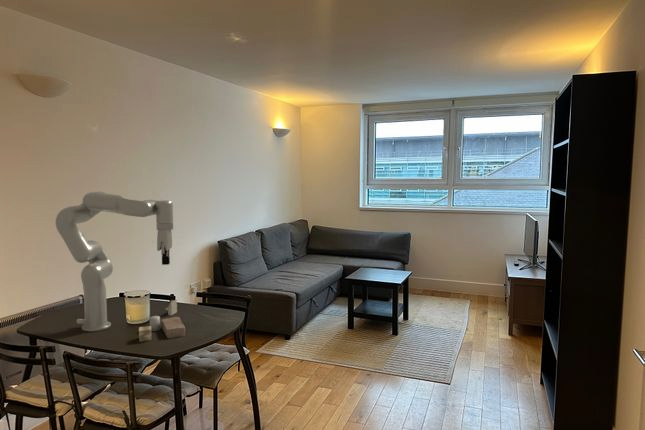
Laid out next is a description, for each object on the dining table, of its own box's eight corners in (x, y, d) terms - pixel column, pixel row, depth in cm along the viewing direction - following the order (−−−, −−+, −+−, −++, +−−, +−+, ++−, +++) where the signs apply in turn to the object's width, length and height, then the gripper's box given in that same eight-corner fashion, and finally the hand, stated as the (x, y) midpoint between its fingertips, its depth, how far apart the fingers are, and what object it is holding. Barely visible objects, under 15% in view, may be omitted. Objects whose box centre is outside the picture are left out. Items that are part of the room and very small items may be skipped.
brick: (186, 336, 206) (185, 326, 205) (167, 339, 202) (167, 329, 201) (179, 325, 220) (178, 316, 220) (161, 328, 216) (161, 318, 216)
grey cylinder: (148, 331, 210) (148, 319, 210) (151, 328, 215) (151, 315, 214) (158, 331, 211) (158, 318, 210) (161, 327, 215) (161, 315, 215)
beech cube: (139, 341, 198) (138, 330, 197) (139, 337, 202) (139, 327, 202) (151, 340, 199) (150, 329, 199) (151, 336, 204) (151, 325, 204)
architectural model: (165, 315, 235) (165, 302, 234) (172, 311, 242) (172, 298, 241) (171, 316, 234) (170, 302, 233) (178, 312, 241) (177, 298, 240)
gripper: (161, 224, 219) (161, 261, 220) (152, 228, 204) (153, 267, 206) (176, 224, 219) (177, 261, 221) (169, 228, 205) (170, 267, 206)
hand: (165, 264), depth 213 cm, fingers closed
